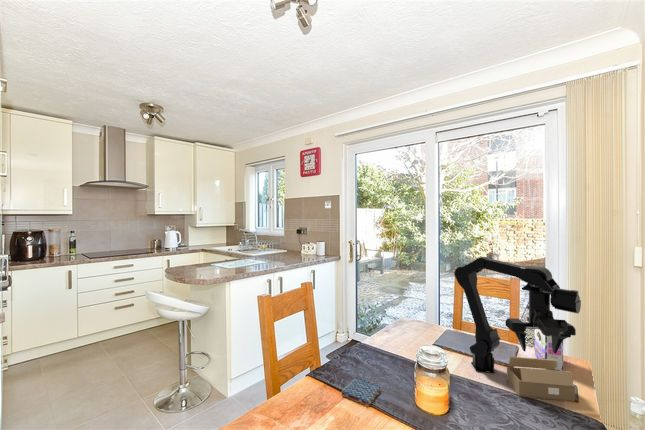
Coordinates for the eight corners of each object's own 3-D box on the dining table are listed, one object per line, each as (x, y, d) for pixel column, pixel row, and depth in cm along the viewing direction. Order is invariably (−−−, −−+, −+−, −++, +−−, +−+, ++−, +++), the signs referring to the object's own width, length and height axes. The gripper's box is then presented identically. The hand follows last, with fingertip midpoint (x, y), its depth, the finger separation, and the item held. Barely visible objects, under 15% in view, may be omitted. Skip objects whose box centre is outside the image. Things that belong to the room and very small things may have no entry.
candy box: (564, 372, 111) (564, 328, 111) (545, 369, 113) (545, 326, 113) (550, 356, 124) (550, 316, 124) (533, 353, 126) (533, 315, 126)
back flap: (554, 369, 103) (553, 368, 104) (556, 360, 102) (556, 359, 102) (509, 366, 106) (508, 365, 106) (510, 357, 104) (510, 356, 105)
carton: (519, 396, 97) (519, 381, 97) (507, 381, 106) (507, 366, 106) (576, 402, 94) (576, 386, 94) (559, 385, 103) (559, 371, 103)
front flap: (522, 381, 96) (522, 381, 96) (520, 367, 97) (520, 367, 97) (572, 385, 94) (573, 386, 93) (570, 371, 95) (570, 371, 94)
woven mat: (339, 397, 98) (339, 391, 98) (355, 382, 106) (355, 376, 106) (368, 409, 92) (368, 402, 92) (382, 391, 100) (382, 385, 100)
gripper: (520, 311, 93) (520, 361, 93) (588, 315, 90) (587, 366, 90) (504, 301, 104) (504, 345, 104) (564, 304, 101) (564, 349, 101)
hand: (539, 351), depth 100 cm, fingers open, 9 cm apart
